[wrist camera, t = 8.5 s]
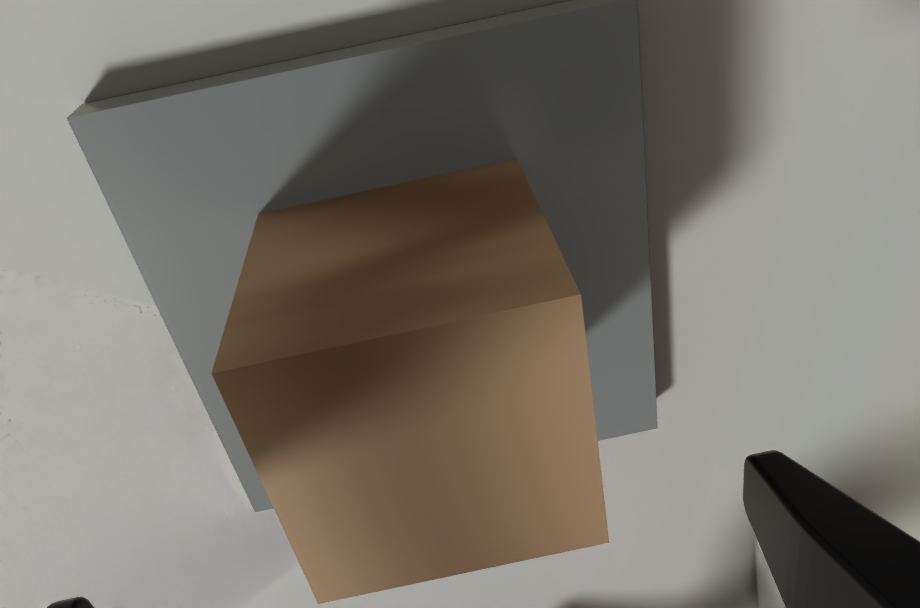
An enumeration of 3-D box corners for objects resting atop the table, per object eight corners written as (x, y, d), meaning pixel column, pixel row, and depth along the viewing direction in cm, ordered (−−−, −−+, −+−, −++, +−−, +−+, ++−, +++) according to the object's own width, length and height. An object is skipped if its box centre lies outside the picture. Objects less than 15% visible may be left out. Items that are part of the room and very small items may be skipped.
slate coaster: (623, -11, 13) (637, -3, 13) (647, 407, 19) (657, 428, 18) (81, 104, 13) (67, 118, 13) (259, 488, 19) (255, 512, 18)
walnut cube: (516, 158, 14) (581, 294, 10) (548, 365, 17) (609, 542, 12) (257, 214, 14) (211, 373, 10) (330, 411, 17) (317, 603, 13)
